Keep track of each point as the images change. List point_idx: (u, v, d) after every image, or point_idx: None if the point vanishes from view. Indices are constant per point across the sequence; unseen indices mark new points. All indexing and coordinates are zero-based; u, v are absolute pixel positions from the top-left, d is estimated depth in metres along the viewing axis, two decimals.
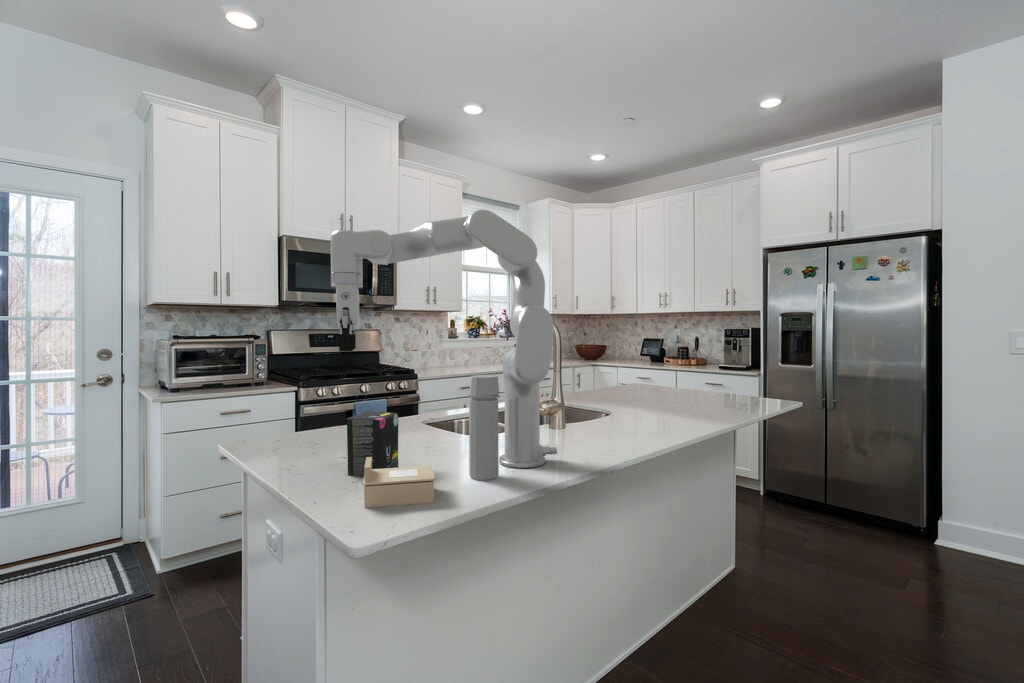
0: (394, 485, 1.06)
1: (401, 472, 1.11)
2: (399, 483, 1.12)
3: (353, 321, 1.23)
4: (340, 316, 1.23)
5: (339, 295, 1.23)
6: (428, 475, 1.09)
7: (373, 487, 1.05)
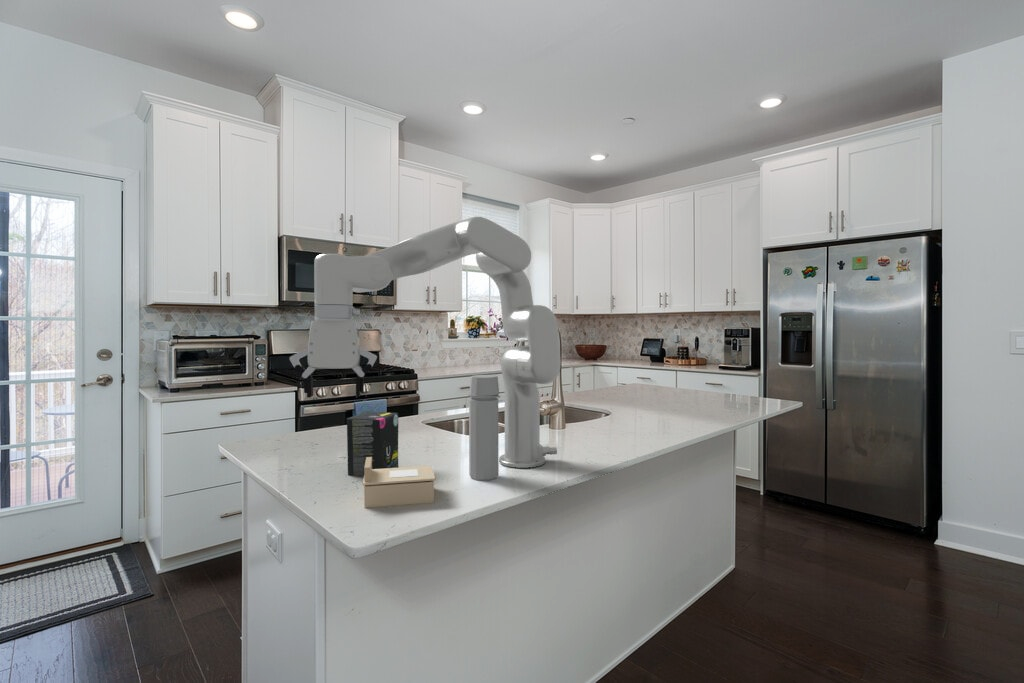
0: (394, 485, 1.06)
1: (401, 472, 1.11)
2: (399, 483, 1.12)
3: (359, 361, 1.10)
4: (358, 356, 1.07)
5: (356, 332, 1.07)
6: (428, 475, 1.09)
7: (373, 487, 1.05)
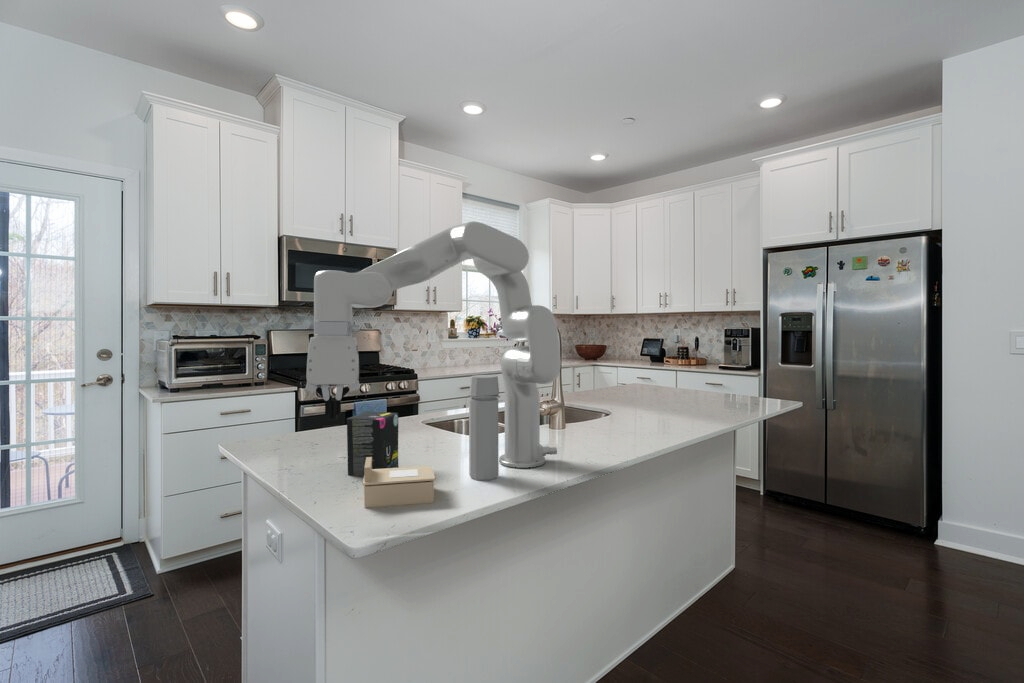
0: (394, 485, 1.06)
1: (401, 472, 1.11)
2: (399, 483, 1.12)
3: (358, 377, 1.09)
4: None
5: (355, 349, 1.06)
6: (428, 475, 1.09)
7: (373, 487, 1.05)
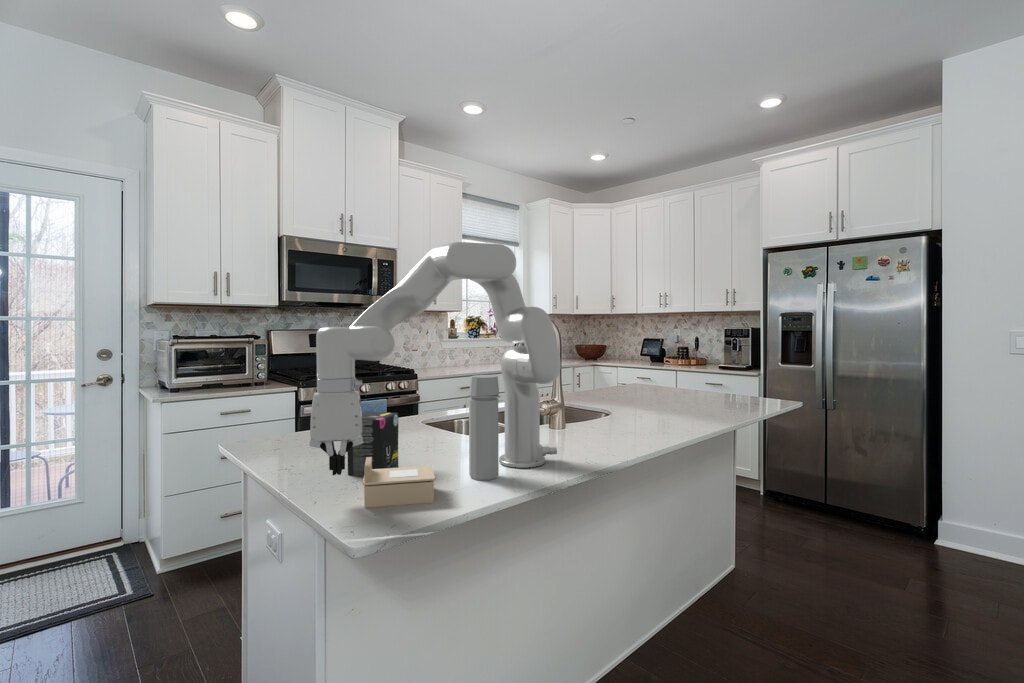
0: (394, 485, 1.06)
1: (401, 472, 1.11)
2: (399, 483, 1.12)
3: None
4: None
5: (358, 404, 1.07)
6: (428, 475, 1.09)
7: (373, 487, 1.05)
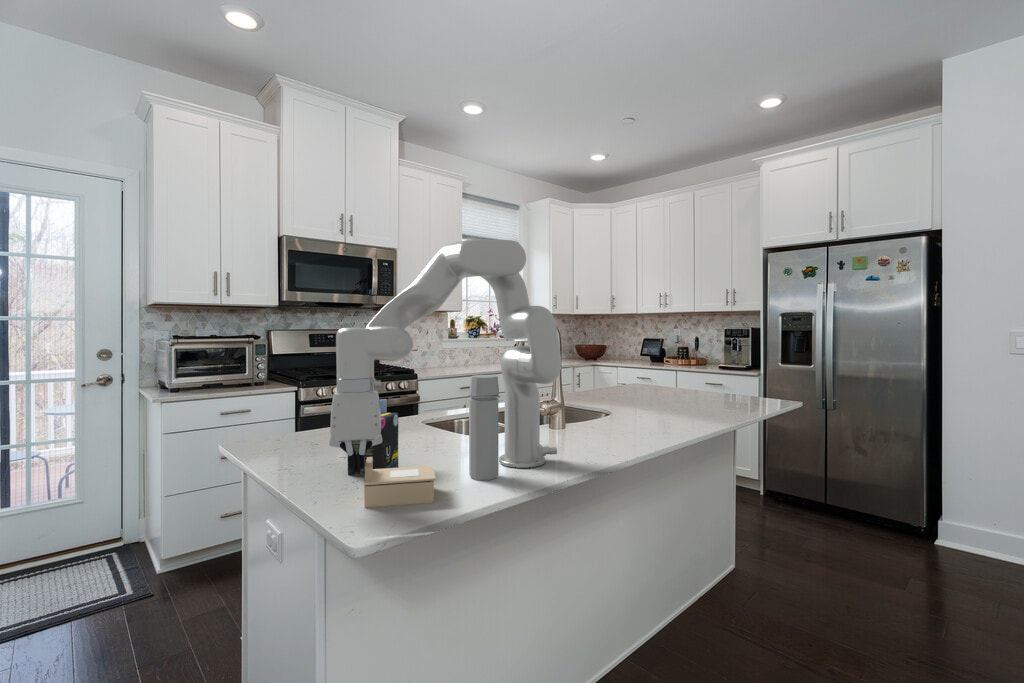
0: (394, 485, 1.06)
1: (402, 472, 1.11)
2: (399, 483, 1.12)
3: (380, 430, 1.11)
4: None
5: (378, 404, 1.08)
6: (429, 475, 1.09)
7: (373, 487, 1.05)
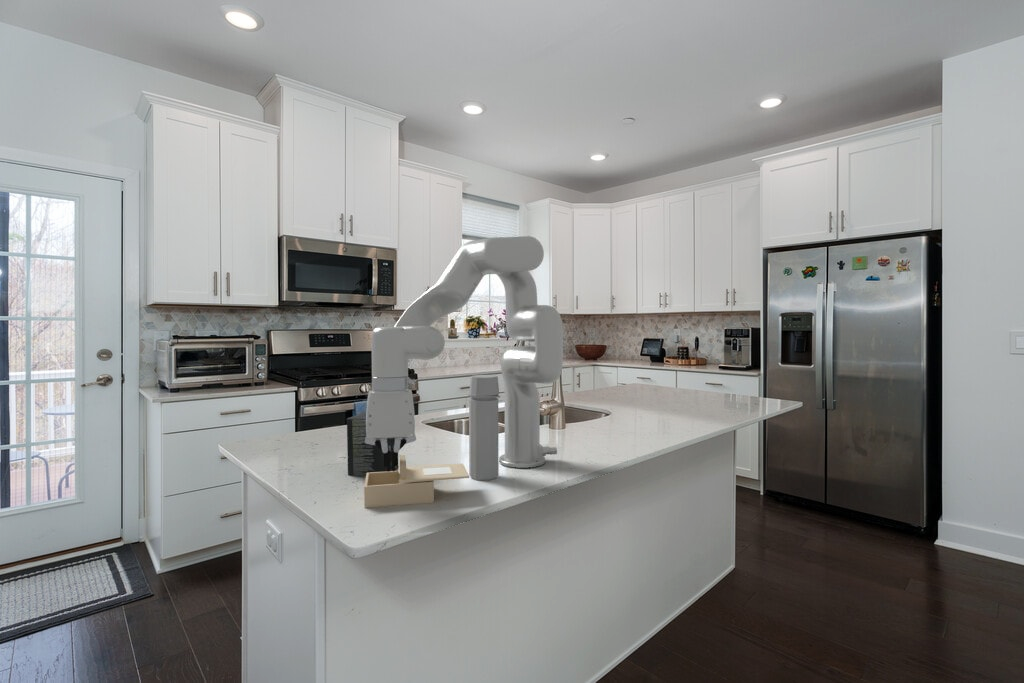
0: (394, 485, 1.06)
1: (434, 470, 1.13)
2: (399, 483, 1.12)
3: None
4: None
5: (412, 402, 1.09)
6: (462, 473, 1.11)
7: (373, 487, 1.05)
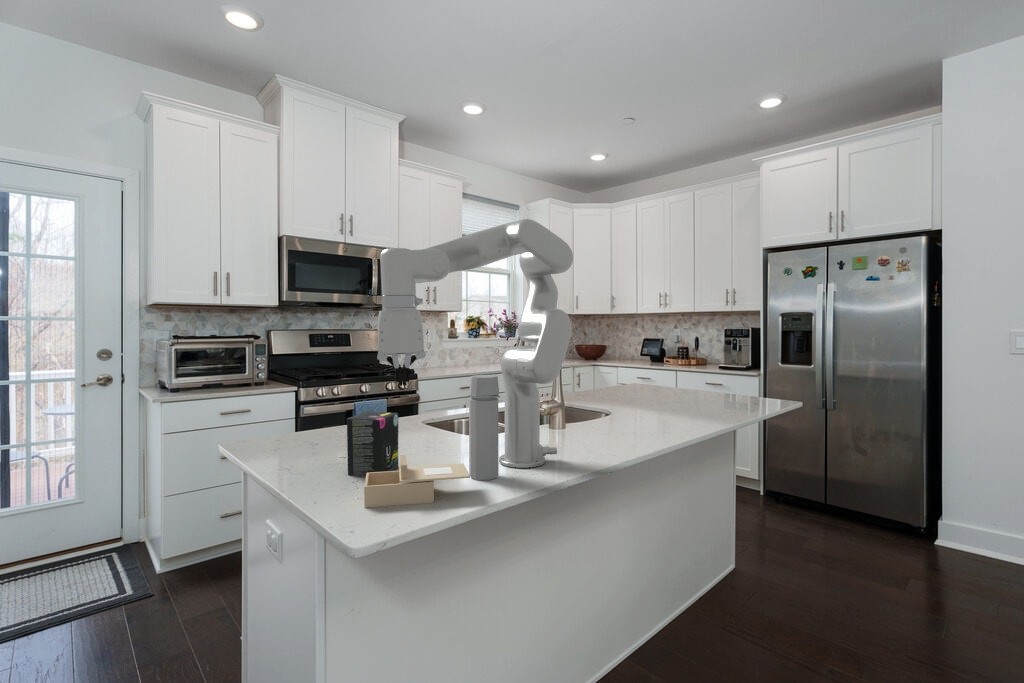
0: (394, 485, 1.06)
1: (435, 470, 1.13)
2: (399, 483, 1.12)
3: None
4: None
5: (421, 320, 1.15)
6: (463, 473, 1.11)
7: (373, 487, 1.05)
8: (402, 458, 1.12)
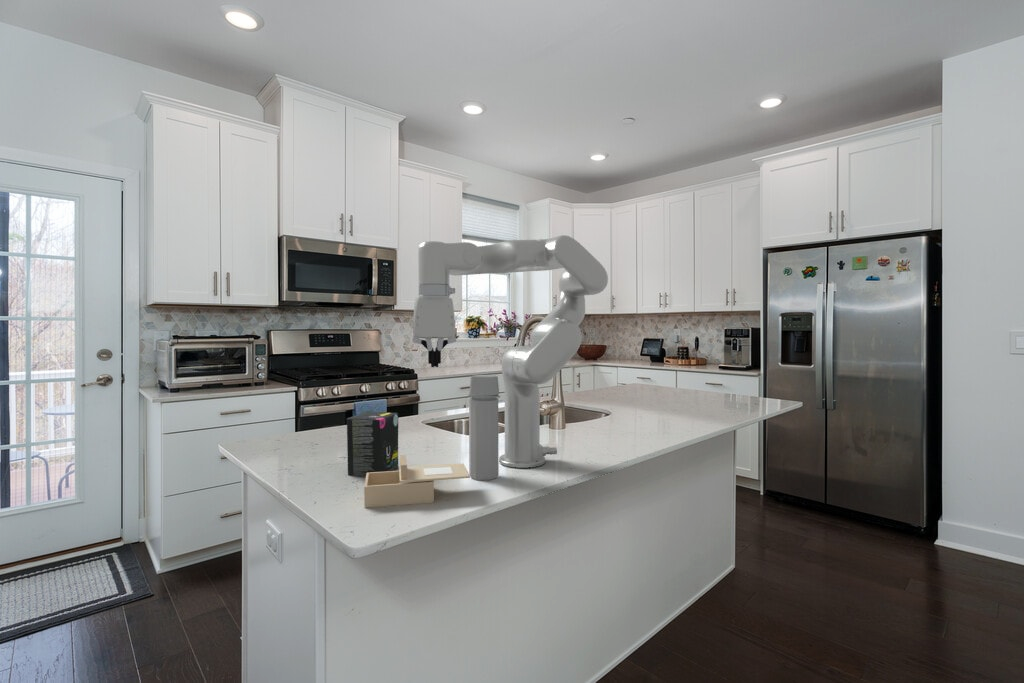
0: (394, 485, 1.06)
1: (435, 470, 1.13)
2: (399, 483, 1.12)
3: None
4: None
5: (453, 307, 1.26)
6: (463, 473, 1.11)
7: (373, 487, 1.05)
8: (402, 458, 1.12)
